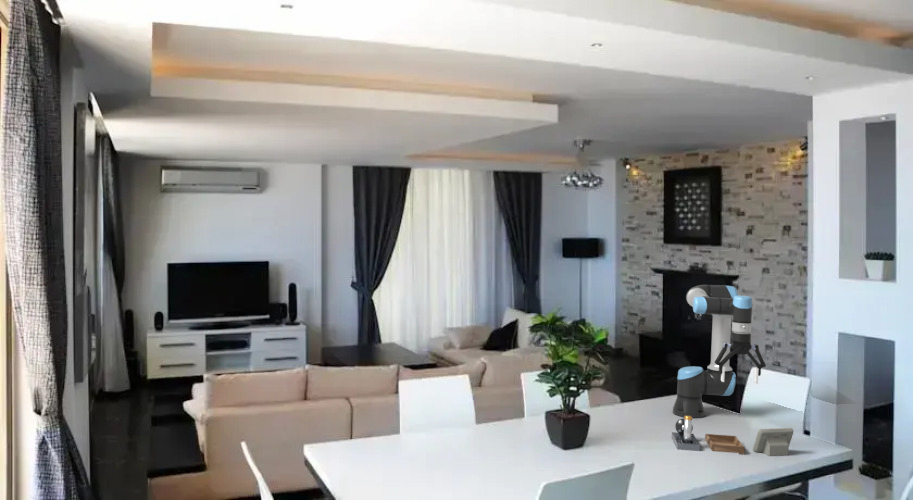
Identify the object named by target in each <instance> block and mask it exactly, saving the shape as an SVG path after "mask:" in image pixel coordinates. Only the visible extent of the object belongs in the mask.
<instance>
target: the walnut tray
mask: <svg viewBox="0 0 913 500" xmlns="http://www.w3.org/2000/svg"><path fill="white" fill-rule="evenodd" d="M704 441H705V443H706V444H707V445H708V447H709V449H710V450H711V451H712V452H718V453H719V452H720V453H731V454H733V453H734V454H738V455H745V446H744V444H742V442H741V441H740V440H739V438H738V437H737V436H736V435H729V434H727V435H726V434H714V433H713V434H711V433H710V434H709V433H705V435H704Z"/></svg>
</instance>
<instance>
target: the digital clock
mask: <svg viewBox="0 0 913 500" xmlns="http://www.w3.org/2000/svg"><path fill="white" fill-rule="evenodd" d="M793 436H794V429H793V428H792V427H776V428H775V427H773V428H770V427H769V428H759V429H758V431H757V434H756V437H755V440H754V444H753V447H752V451H753V452H755V453H763V454H765V455H766V456H768V457H777V456H778V457H780V456H781V457H782V456H789V447H790V444H791V441H792V438H793Z"/></svg>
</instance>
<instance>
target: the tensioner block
mask: <svg viewBox="0 0 913 500" xmlns="http://www.w3.org/2000/svg"><path fill="white" fill-rule="evenodd" d="M684 419H685V418H680V419H678V420H677V421H676V422H675V425H674V426H675V427H674V428H675V430H676V432H671V439H672V442H673V444H674V446H675V447H676V449H677V450H679V451H680V450H681V451H695V452H700V451H701V445H700V443H699V441H698V439H697V437H696V436H695V435H694V433H691V443H684ZM692 430H693V425H692Z"/></svg>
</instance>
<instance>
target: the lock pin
mask: <svg viewBox="0 0 913 500" xmlns="http://www.w3.org/2000/svg"><path fill="white" fill-rule="evenodd" d="M683 419H684V443H691V434H692V433H693V429H692V426H693V418H692V416H688V415H686V416H685V417H684V418H683Z"/></svg>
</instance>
